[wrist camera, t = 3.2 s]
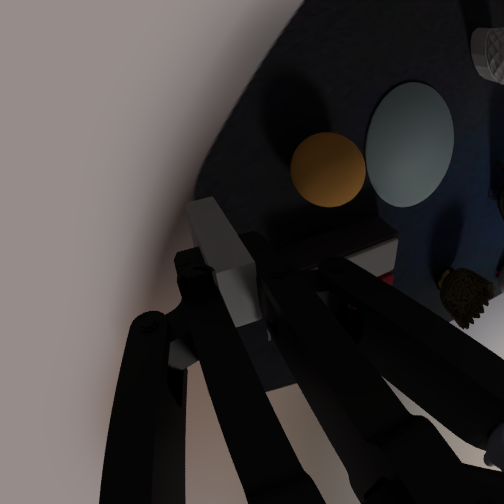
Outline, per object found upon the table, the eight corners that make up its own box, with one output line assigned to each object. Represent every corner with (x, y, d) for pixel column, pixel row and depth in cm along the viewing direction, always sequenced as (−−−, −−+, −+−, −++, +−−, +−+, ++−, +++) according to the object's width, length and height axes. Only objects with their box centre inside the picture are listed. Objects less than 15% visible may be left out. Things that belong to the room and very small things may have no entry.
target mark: (448, 76, 24) (449, 76, 23) (452, 185, 31) (453, 185, 31) (354, 93, 22) (355, 93, 22) (371, 224, 30) (372, 225, 29)
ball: (332, 119, 23) (376, 131, 18) (343, 179, 26) (383, 203, 22) (270, 138, 22) (305, 155, 18) (287, 201, 25) (320, 231, 21)
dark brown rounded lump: (417, 286, 38) (456, 322, 32) (450, 244, 36) (492, 275, 30) (433, 302, 42) (466, 334, 36) (462, 265, 40) (497, 294, 34)
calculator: (304, 375, 33) (298, 276, 24) (289, 348, 37) (276, 247, 28) (384, 337, 35) (406, 235, 26) (366, 314, 39) (378, 213, 30)
